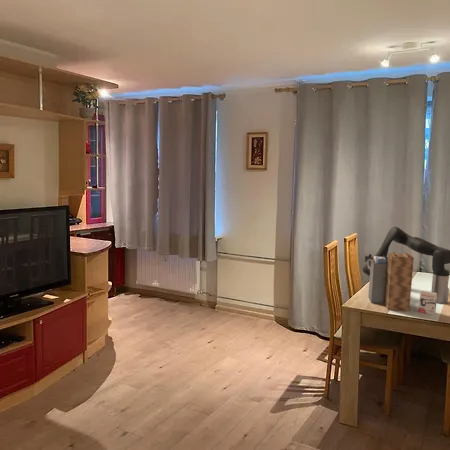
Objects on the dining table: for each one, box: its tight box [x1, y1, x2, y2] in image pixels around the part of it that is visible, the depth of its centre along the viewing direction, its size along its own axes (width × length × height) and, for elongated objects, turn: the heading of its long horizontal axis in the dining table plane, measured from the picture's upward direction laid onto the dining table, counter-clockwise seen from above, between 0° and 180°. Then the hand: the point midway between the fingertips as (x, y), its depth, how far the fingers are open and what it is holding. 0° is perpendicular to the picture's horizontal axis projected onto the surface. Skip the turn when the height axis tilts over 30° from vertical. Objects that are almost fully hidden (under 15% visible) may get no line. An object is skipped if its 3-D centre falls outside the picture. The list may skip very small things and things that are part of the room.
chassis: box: [367, 259, 388, 305], centre depth 293 cm, size 10×15×25 cm, turn 170°
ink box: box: [418, 290, 437, 316], centre depth 272 cm, size 8×5×12 cm, turn 56°
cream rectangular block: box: [374, 255, 386, 264], centre depth 297 cm, size 5×22×6 cm, turn 170°
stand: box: [384, 251, 414, 312], centre depth 277 cm, size 12×11×33 cm
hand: (377, 255), depth 304 cm, fingers open, 8 cm apart
